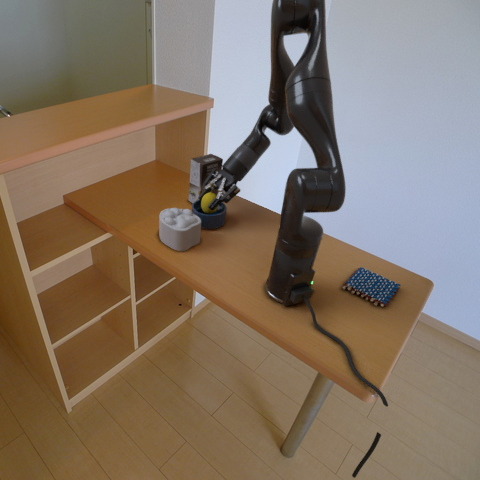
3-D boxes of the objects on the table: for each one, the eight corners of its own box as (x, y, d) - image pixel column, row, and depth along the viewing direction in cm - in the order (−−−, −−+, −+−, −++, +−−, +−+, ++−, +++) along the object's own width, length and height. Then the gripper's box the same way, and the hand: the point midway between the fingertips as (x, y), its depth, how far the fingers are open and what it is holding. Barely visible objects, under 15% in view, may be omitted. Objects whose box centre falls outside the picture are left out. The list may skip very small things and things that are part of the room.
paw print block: (179, 253, 104) (180, 228, 99) (151, 234, 112) (150, 210, 107) (204, 240, 110) (206, 215, 105) (175, 223, 118) (175, 199, 113)
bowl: (231, 226, 116) (232, 211, 113) (199, 233, 113) (200, 218, 110) (215, 210, 125) (216, 196, 121) (186, 216, 122) (186, 201, 118)
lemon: (216, 219, 115) (218, 197, 110) (199, 218, 116) (200, 195, 111) (218, 210, 119) (220, 189, 115) (201, 209, 120) (202, 187, 116)
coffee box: (199, 208, 126) (201, 165, 117) (188, 200, 130) (189, 158, 121) (219, 200, 130) (223, 158, 121) (207, 194, 134) (211, 152, 125)
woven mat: (357, 270, 98) (359, 264, 97) (399, 289, 92) (402, 283, 91) (340, 288, 92) (342, 282, 91) (383, 310, 86) (386, 304, 85)
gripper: (221, 147, 114) (187, 189, 117) (248, 164, 104) (210, 209, 107) (233, 160, 119) (200, 200, 122) (261, 177, 109) (223, 220, 112)
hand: (205, 204), depth 114 cm, fingers closed on lemon, 5 cm apart
